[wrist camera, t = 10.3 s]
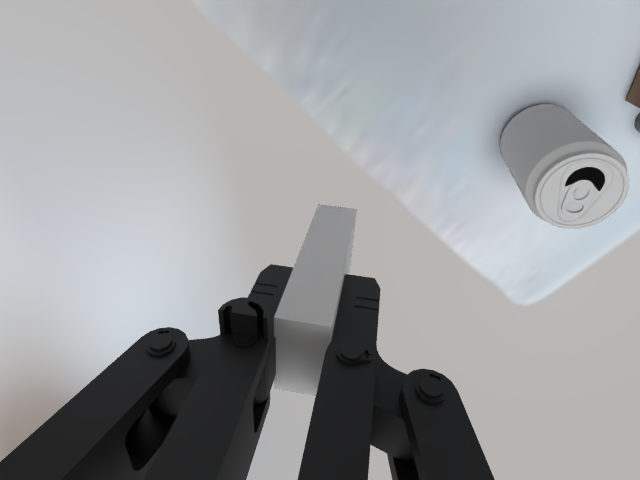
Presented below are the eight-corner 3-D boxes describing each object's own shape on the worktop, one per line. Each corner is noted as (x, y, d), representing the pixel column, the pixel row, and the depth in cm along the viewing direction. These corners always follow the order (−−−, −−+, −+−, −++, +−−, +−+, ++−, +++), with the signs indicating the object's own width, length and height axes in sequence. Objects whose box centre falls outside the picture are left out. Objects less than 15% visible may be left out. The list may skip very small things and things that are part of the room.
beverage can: (587, 106, 36) (656, 155, 26) (557, 174, 39) (609, 241, 29) (511, 97, 36) (550, 141, 26) (489, 164, 40) (516, 226, 30)
